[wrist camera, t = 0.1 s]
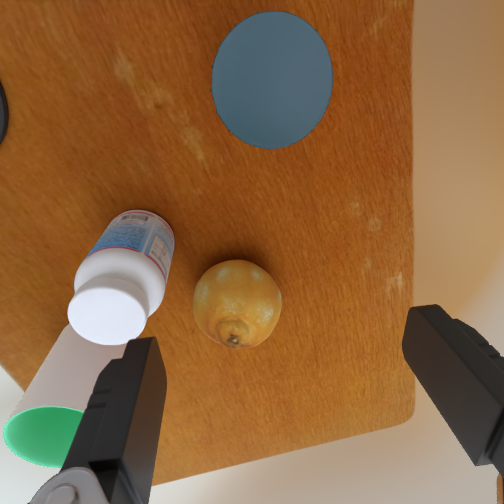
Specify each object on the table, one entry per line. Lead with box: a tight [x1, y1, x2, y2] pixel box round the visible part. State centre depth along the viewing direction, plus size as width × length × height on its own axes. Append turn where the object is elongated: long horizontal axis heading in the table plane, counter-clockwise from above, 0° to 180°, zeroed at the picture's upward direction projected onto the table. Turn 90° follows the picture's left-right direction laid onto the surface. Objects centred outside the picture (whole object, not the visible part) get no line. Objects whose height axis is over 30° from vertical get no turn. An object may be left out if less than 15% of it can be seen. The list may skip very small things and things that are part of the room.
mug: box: [3, 324, 136, 468], centre depth 32 cm, size 12×8×10 cm
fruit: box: [192, 260, 282, 349], centre depth 30 cm, size 8×8×8 cm
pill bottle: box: [68, 210, 175, 345], centre depth 25 cm, size 6×6×11 cm
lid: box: [210, 11, 333, 149], centre depth 17 cm, size 6×6×2 cm
